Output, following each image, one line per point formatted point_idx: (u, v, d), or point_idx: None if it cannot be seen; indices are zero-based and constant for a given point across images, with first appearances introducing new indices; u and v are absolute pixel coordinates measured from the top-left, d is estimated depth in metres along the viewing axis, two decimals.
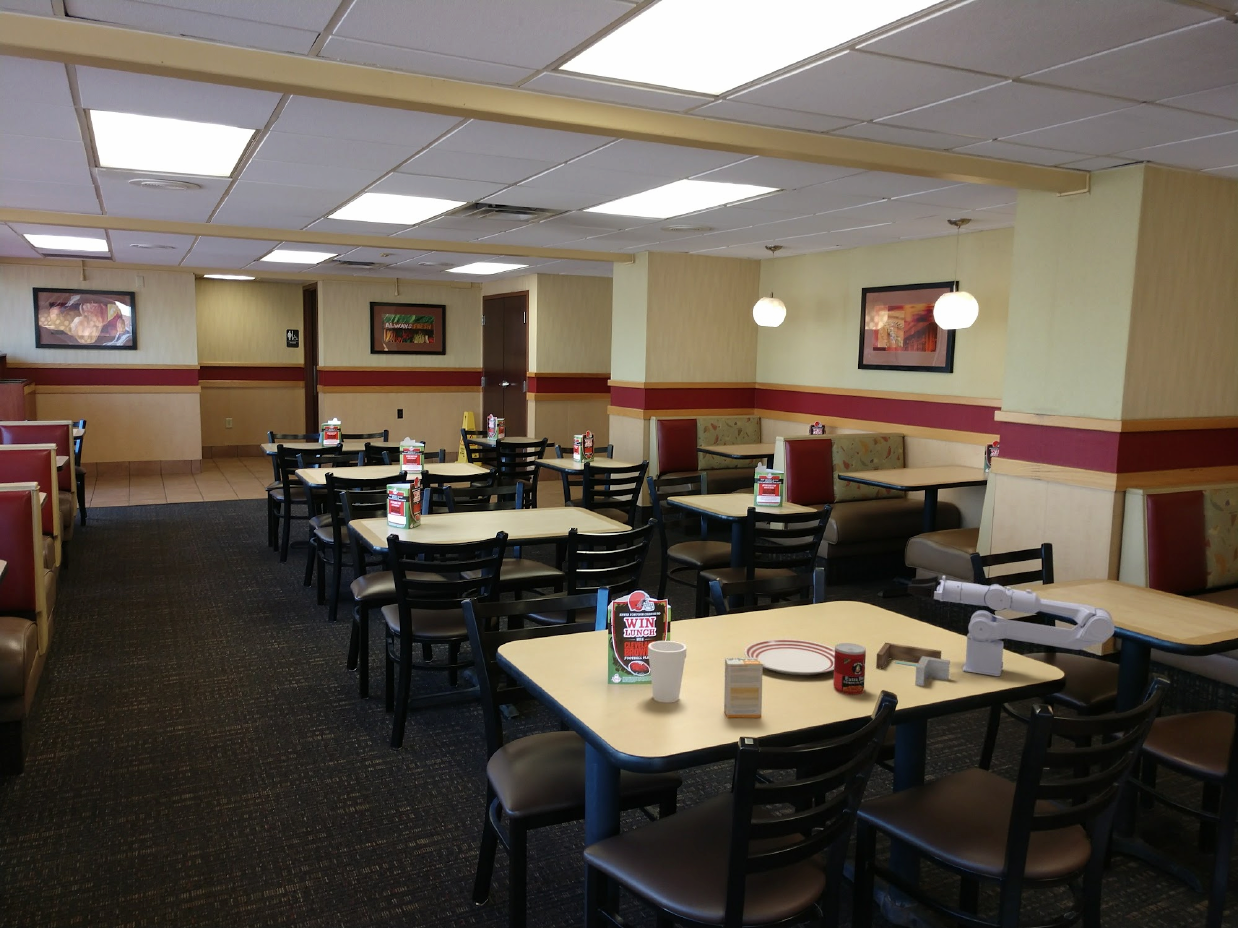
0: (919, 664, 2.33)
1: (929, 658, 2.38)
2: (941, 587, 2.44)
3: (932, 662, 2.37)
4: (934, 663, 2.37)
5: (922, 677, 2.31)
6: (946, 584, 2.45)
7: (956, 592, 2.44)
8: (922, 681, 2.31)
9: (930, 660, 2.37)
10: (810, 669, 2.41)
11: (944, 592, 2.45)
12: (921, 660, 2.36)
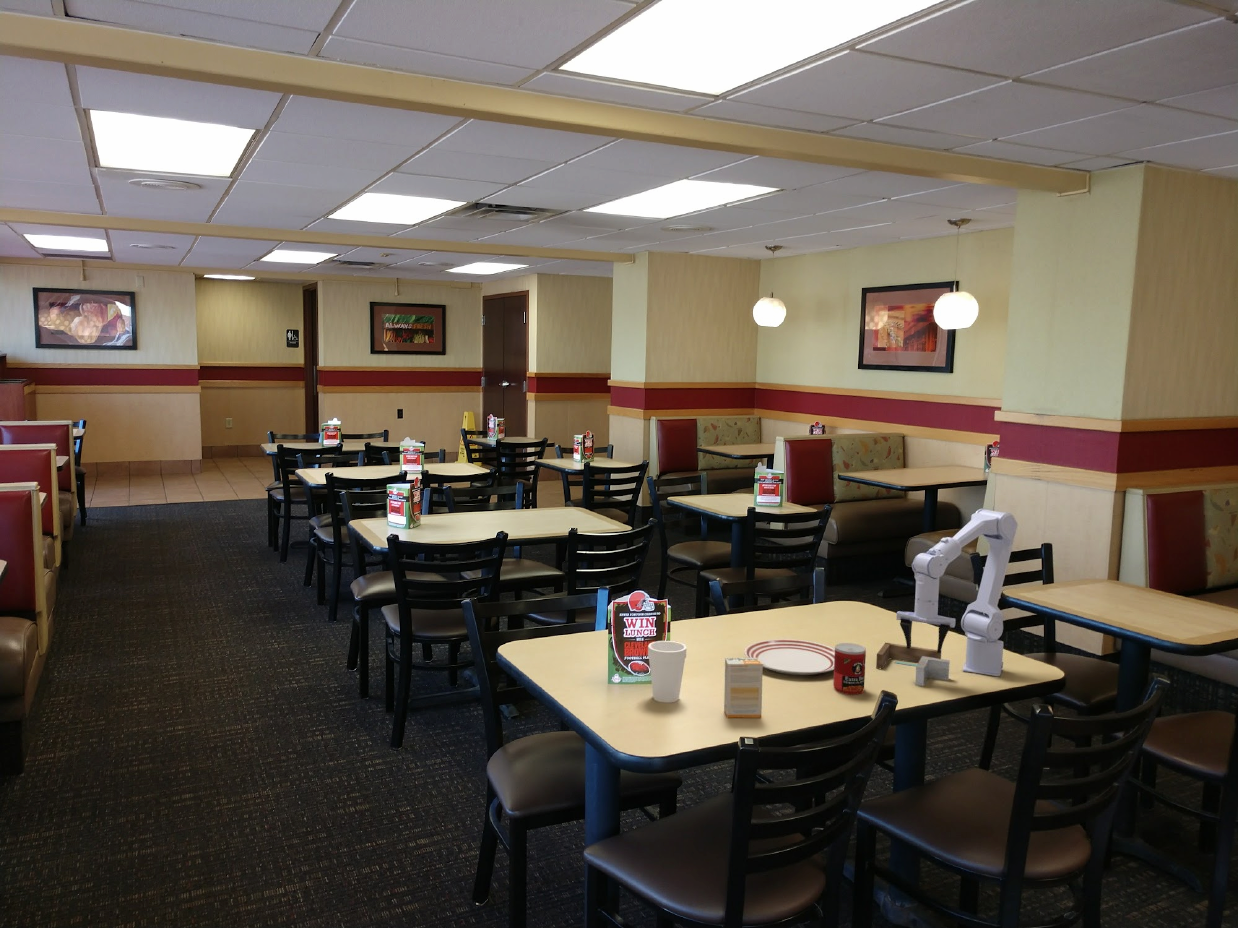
0: (919, 664, 2.33)
1: (929, 658, 2.38)
2: (941, 620, 2.31)
3: (932, 662, 2.37)
4: (934, 663, 2.37)
5: (922, 677, 2.31)
6: (932, 616, 2.32)
7: (937, 604, 2.33)
8: (922, 681, 2.31)
9: (930, 660, 2.37)
10: (810, 669, 2.41)
11: (937, 615, 2.33)
12: (921, 660, 2.36)
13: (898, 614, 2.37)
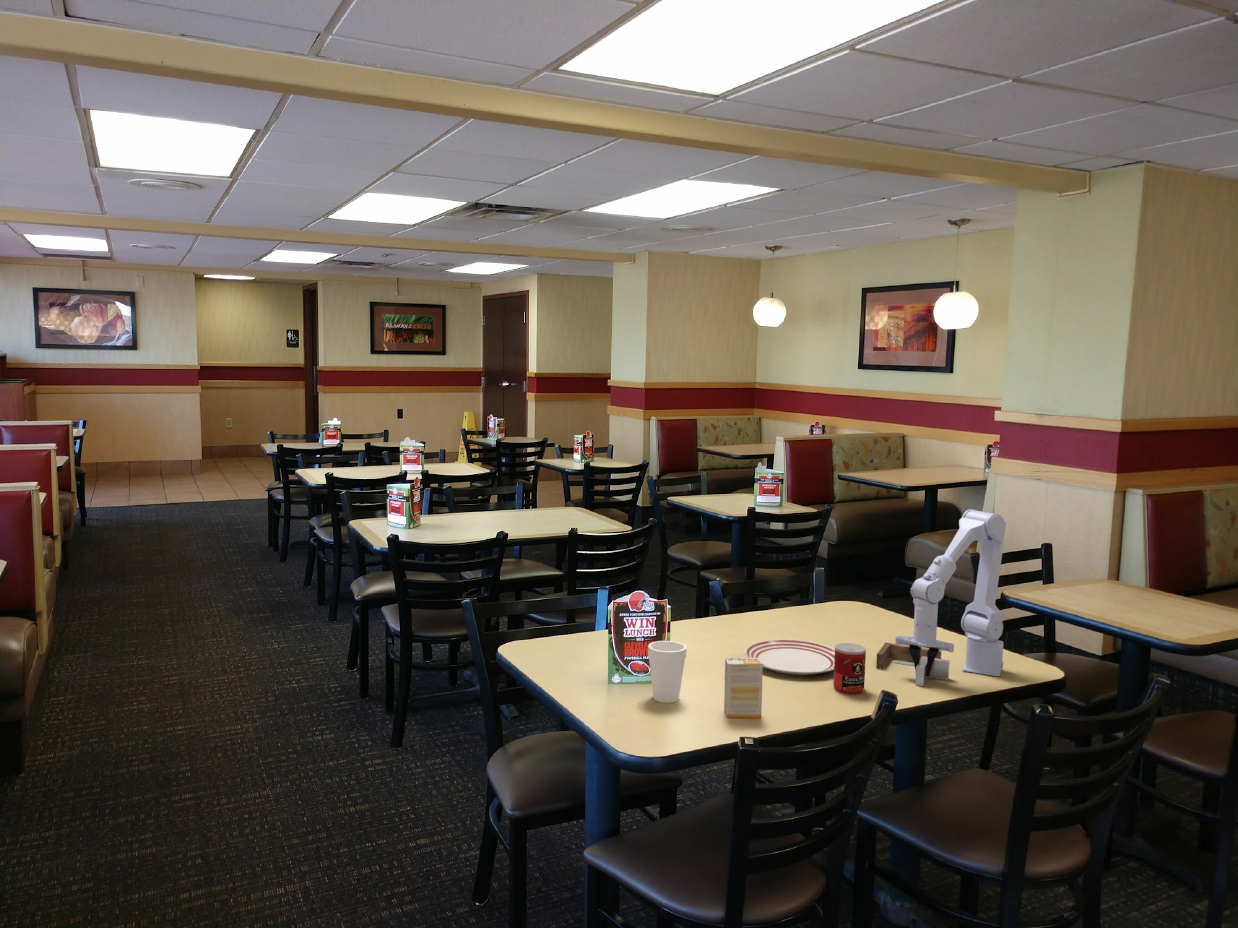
0: (919, 664, 2.33)
1: None
2: (940, 645, 2.32)
3: None
4: (934, 663, 2.37)
5: (922, 677, 2.31)
6: (931, 641, 2.32)
7: (935, 629, 2.33)
8: (922, 681, 2.31)
9: None
10: (810, 669, 2.41)
11: (935, 640, 2.34)
12: (921, 660, 2.36)
13: (897, 639, 2.37)
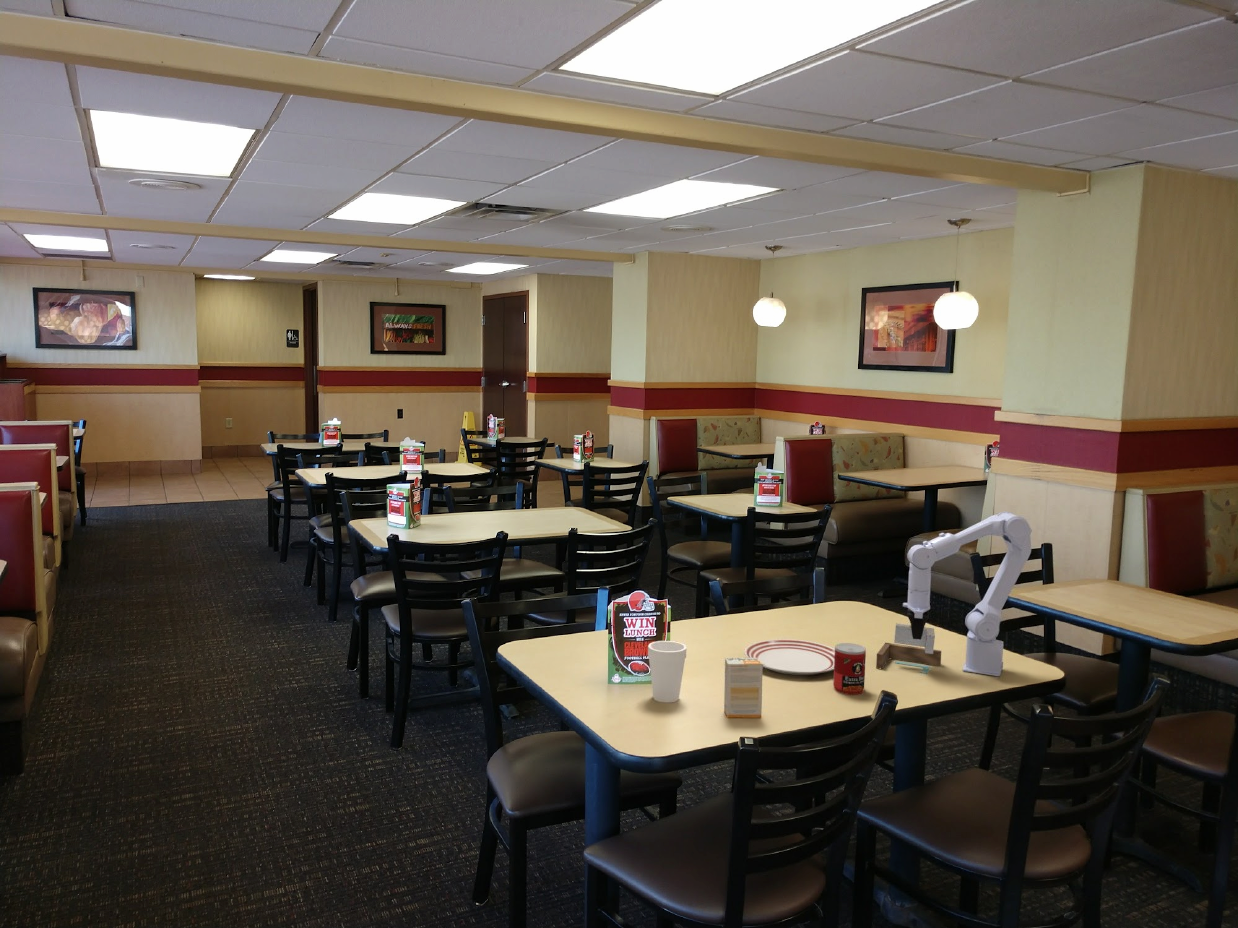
0: None
1: (929, 630, 2.43)
2: (911, 609, 2.41)
3: (926, 632, 2.43)
4: (926, 634, 2.42)
5: (895, 634, 2.47)
6: (910, 603, 2.43)
7: (917, 594, 2.42)
8: None
9: (926, 630, 2.43)
10: (810, 669, 2.41)
11: (918, 605, 2.42)
12: None
13: None
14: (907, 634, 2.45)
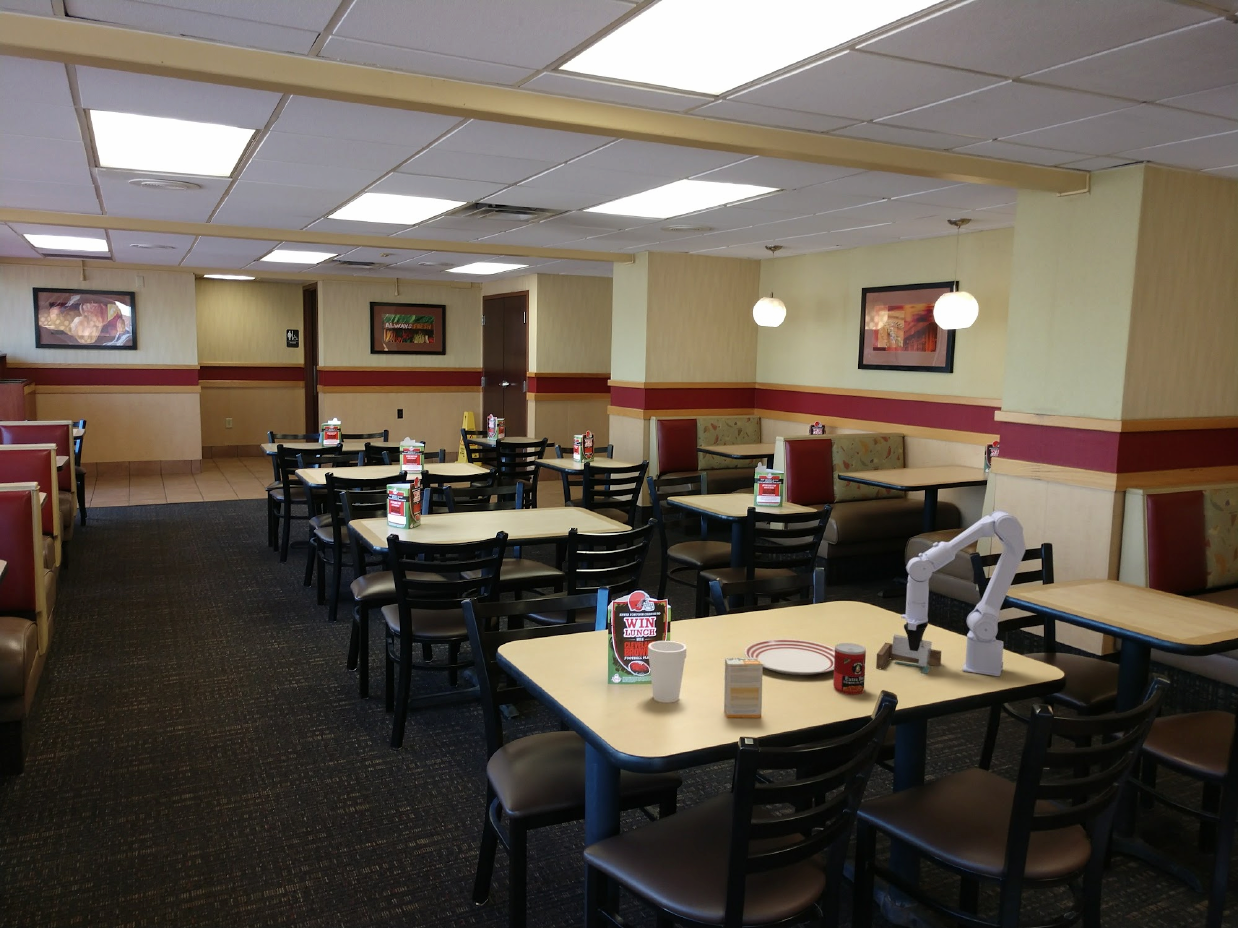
0: (902, 636, 2.49)
1: (926, 643, 2.45)
2: (907, 620, 2.44)
3: None
4: None
5: None
6: (907, 615, 2.46)
7: (913, 606, 2.44)
8: (892, 648, 2.50)
9: (923, 643, 2.45)
10: (810, 669, 2.41)
11: (914, 617, 2.44)
12: None
13: None
14: (904, 645, 2.48)
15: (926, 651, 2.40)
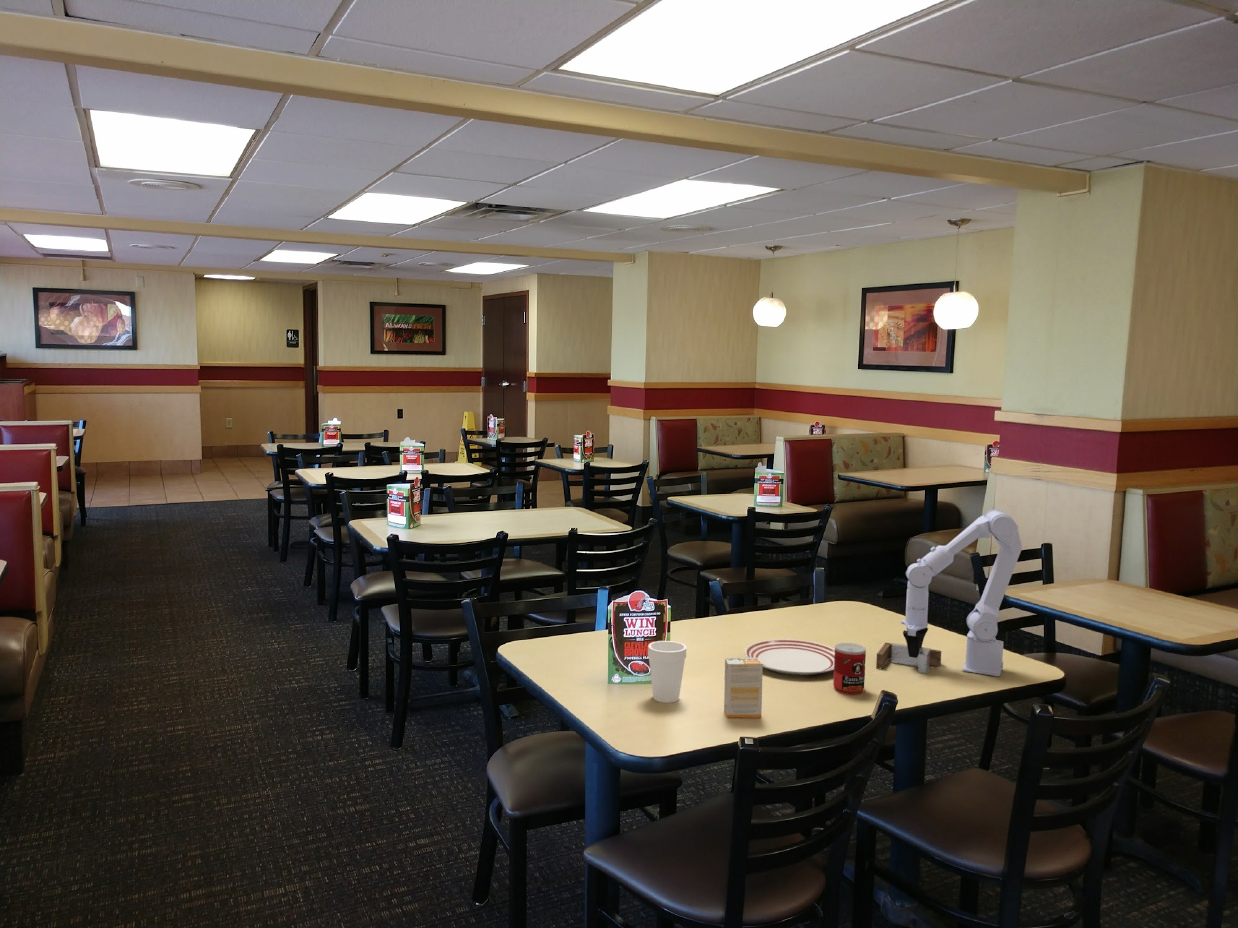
0: (900, 644, 2.50)
1: (925, 649, 2.46)
2: (907, 626, 2.44)
3: None
4: None
5: None
6: (907, 621, 2.46)
7: (913, 612, 2.45)
8: None
9: None
10: (810, 669, 2.41)
11: (914, 623, 2.45)
12: None
13: None
14: (903, 654, 2.48)
15: (925, 657, 2.41)
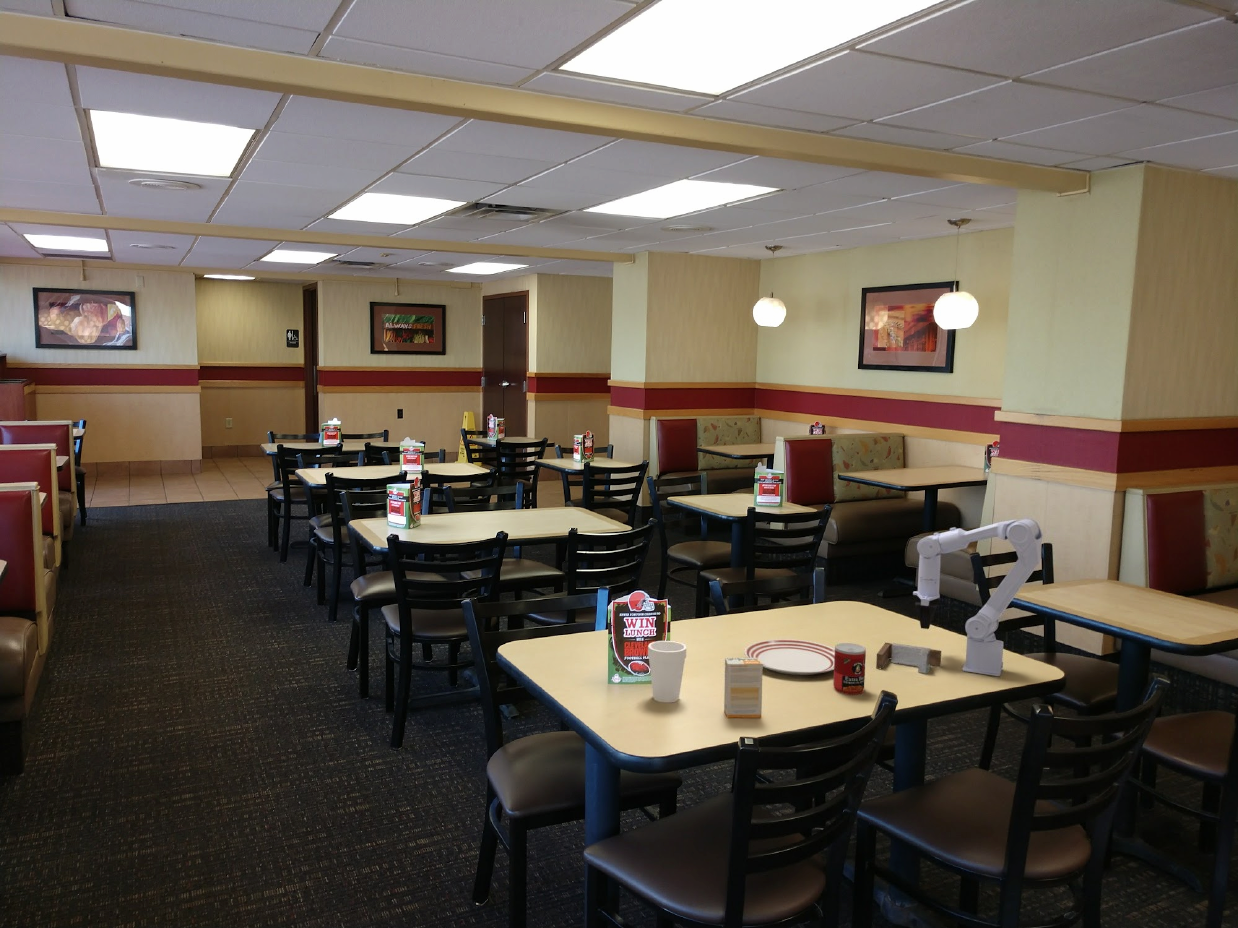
0: (900, 644, 2.50)
1: (925, 649, 2.46)
2: (919, 597, 2.50)
3: None
4: None
5: None
6: (919, 591, 2.52)
7: (925, 583, 2.50)
8: None
9: None
10: (810, 669, 2.41)
11: (926, 594, 2.50)
12: (915, 646, 2.48)
13: None
14: (903, 654, 2.48)
15: (925, 657, 2.41)
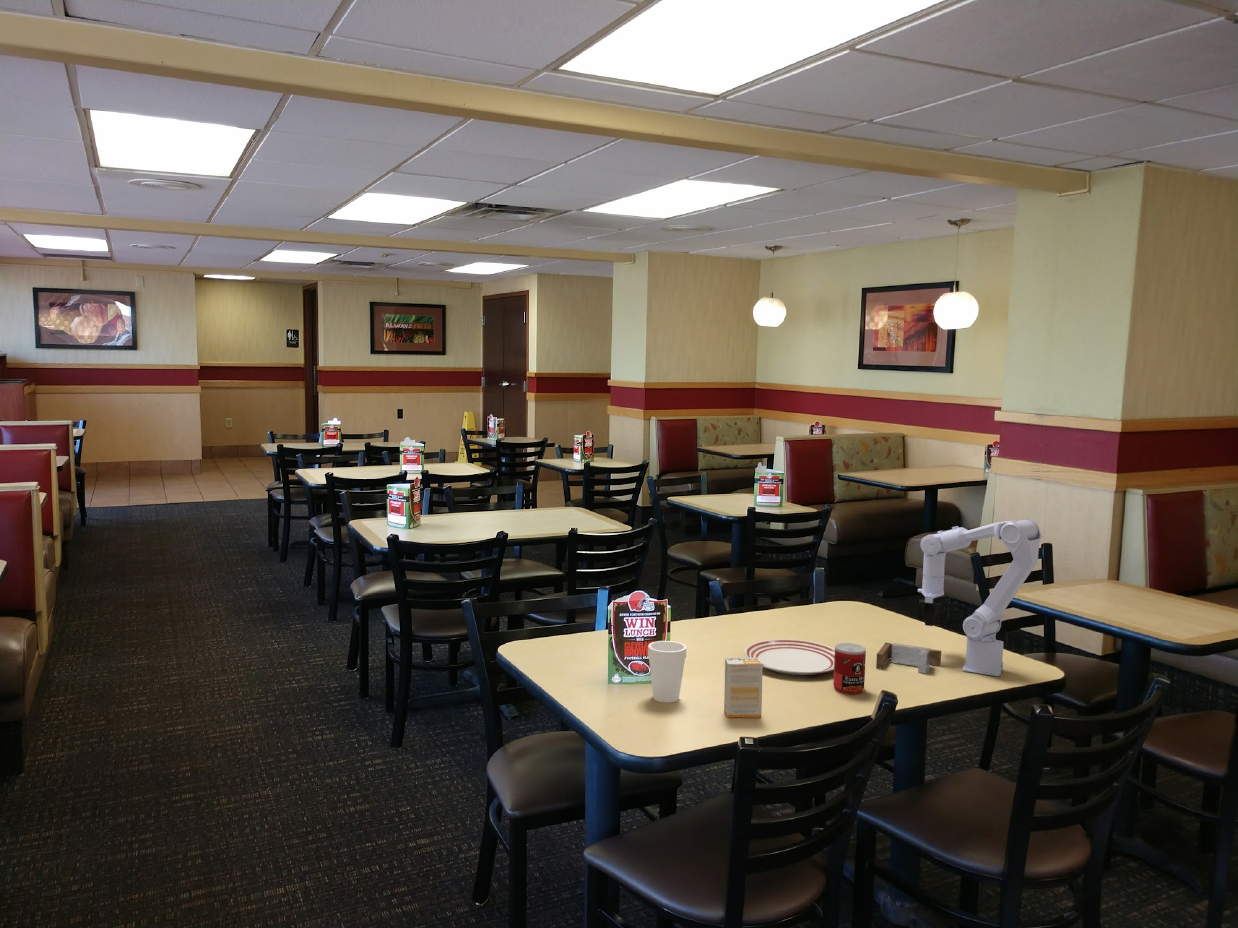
0: (900, 644, 2.50)
1: (925, 649, 2.46)
2: (924, 594, 2.52)
3: None
4: None
5: None
6: (924, 589, 2.54)
7: (929, 580, 2.52)
8: None
9: None
10: (810, 669, 2.41)
11: (931, 591, 2.53)
12: (915, 646, 2.48)
13: None
14: (903, 654, 2.48)
15: (925, 657, 2.41)
